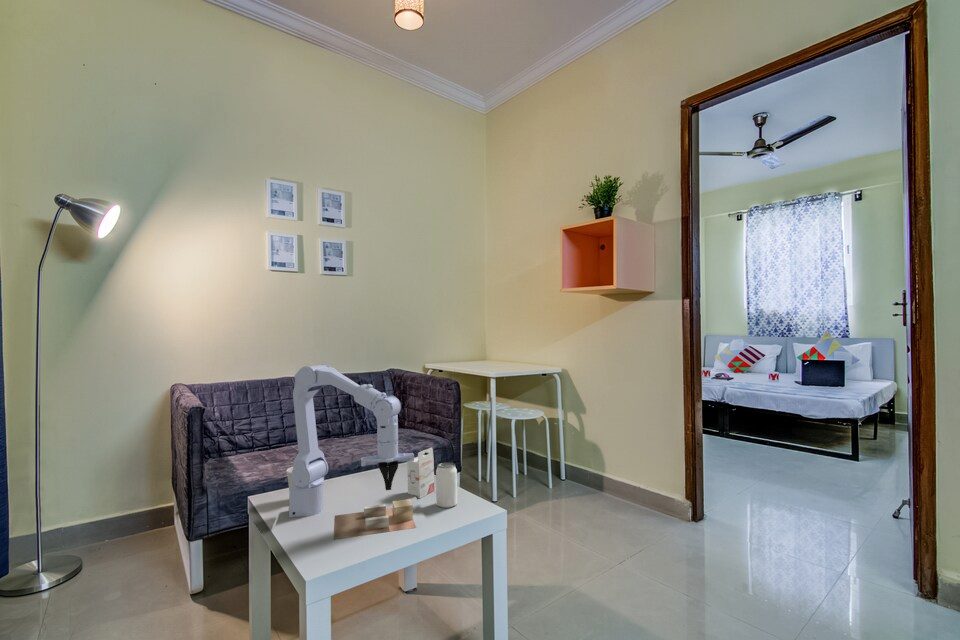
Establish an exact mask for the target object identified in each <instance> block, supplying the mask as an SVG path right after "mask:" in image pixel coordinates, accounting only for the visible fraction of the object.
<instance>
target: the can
mask: <svg viewBox="0 0 960 640" xmlns="http://www.w3.org/2000/svg"><path fill="white" fill-rule="evenodd" d="M435 488H436V489H435V493H436V496H435V497H436V499H435V500H436V506H438V507H439V508H441V507H442V508H443V509H448V508H449V507H451V508H454V507H455V506H456V505H458V470H457V468H456V464H455V463H453V462H442V463H438V464H437V468H436V470H435ZM453 506H454V507H453Z"/></svg>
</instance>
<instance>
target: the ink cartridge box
mask: <svg viewBox="0 0 960 640" xmlns="http://www.w3.org/2000/svg"><path fill="white" fill-rule="evenodd" d="M425 453H426V454H425ZM434 458H435V457H434V448H433V447H432V446H431V447H429V448H427V449H424V450H422V451H419V452H417V456H416V457H414V461H406V465H407V467H406V468H407V493H408V495H412V496H415V498H416V499H421V498H423V497H425V496H427V495H430V494H431V493H432V492H434V491H435V466H434V465H435V463H434V462H435V460H434Z"/></svg>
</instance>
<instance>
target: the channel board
mask: <svg viewBox="0 0 960 640" xmlns="http://www.w3.org/2000/svg"><path fill="white" fill-rule="evenodd" d="M416 528H417V525H416V523H415V521H414V519H413V520H408V521H400V522H394V518H393V507H390V508H387V505H386V504H385V503H383V504H379V505H378V504H377V505H376V504H375V505H367V506H364V507H363V511H360V512H359V511H358V512H352V513H344V514H338V515H336V514H335V515H334V528H333V529H334V530H333V540H334V541H336V540H343V539H348V538H355V537H362V536H369V535H378V534H382V533H390V532H398V531H404V530H412V529H416Z"/></svg>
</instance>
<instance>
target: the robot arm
mask: <svg viewBox="0 0 960 640" xmlns="http://www.w3.org/2000/svg"><path fill="white" fill-rule="evenodd" d="M329 385H330V386H333V387H335V388H337V389H339V390H341V391H343V392H344V393H347V394H349V395H351V396H352V397H353V399H354V402H355V403H356V404H359V405H360V406H362V407H364V408H366V409H368V410H369V411H371V412H372V413H373V415H374V417H375V419H376V429H377V434H376V435H377V436H376V437H377V438H376V439H377V441H376V442H377V454H375V455H370V456H366V457H365V456H364V457H361V459H360V460H361V461H360V464H361V465H360V466H361V467H366V466H371V465H372V466H373V465H377V466H378V470H379V471H380V473H381V476H382V478H383V481H384V487H385V491H391V490H392V486H393V485H392V484H393V480H394V479H395V478H394V477H395V475H396V473H397V470H398V468H399V463H401V462H402V463H403V462H404V463H405V462H407V461H414V458H415V454H414V453H413V452H399V423H398V422H399V418H398V417H399V416H398V415H399V413H400V412H401V411H402V404H401V403H402V402H401V401H400V400H399V398H397V397H396V396H395V395H389V396H387V393H386V392H384V391H383V392H381V391H379V390H378V389H375V388H374V385H372V384H371V383H368V384H365V383H364V384H361V385H360V384H358V383H357V382H355V381H353V380H352V379H350V378H349V377H347V376H345V375H344V374H343V373H341V372H339V371H338V370H337V369H336V367H333V366H332V367H331V366H330V365H329V364H325V363H324V364H319V365H309V366H308V365H307V366H306V365H304V366H302V367H301V368H300V369H298V371H297V372H296V373H295V374H294V386H293V389H292V391H293V392H292V399H293V407H294V408H293V410H294V419H295V429H296V430H295V431H296V439H297V447H298V448H297V449H298V453H297V455H296V457H295V458H294V459H293V461H292V467H293V470H292V474H291V477H292V481H293V483H294V484H295V486H291V487H290V492H288V493H289V495H288V501H289V502H288V518H296V517H297V518H298V517H311V516H316V515H319V514H320V513H322V512H323V511H324V481H325V476H326V475H327V474H328V473H329V465H328V462H327V460H326V458H325V454H324V452H323V451H322V450H321V449H320V448H319V443H318V441H319V440H318V433H317V425H316V423H317V422H316V414H315V413H316V412H315V406H314V396H316V394H317V393H318V392H319V391H320V390H321V389H322V388H324V387H325V386H329Z"/></svg>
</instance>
